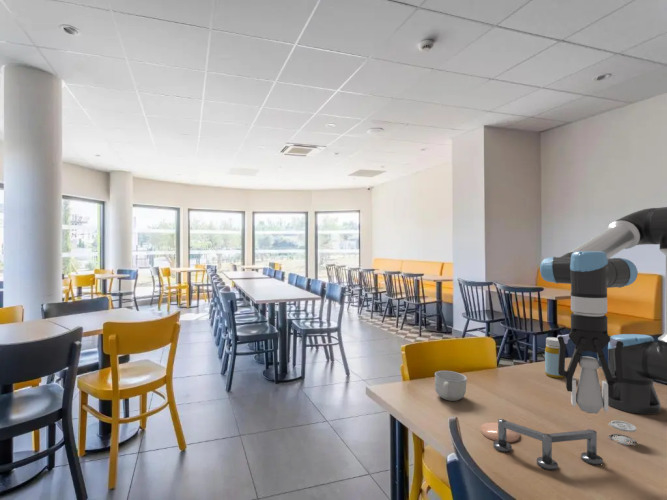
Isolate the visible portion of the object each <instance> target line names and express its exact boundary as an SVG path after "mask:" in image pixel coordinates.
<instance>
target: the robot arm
mask: <svg viewBox="0 0 667 500" xmlns="http://www.w3.org/2000/svg"><path fill="white" fill-rule="evenodd" d="M641 245H644V246H645V245H659V251H660V252H661V253H662V254H663V255H665V285H664V286H665V287H664V288H665V289H664V333H663V334H662V335H660V336H659V337H658V338H657V342H656V341H655V339H654V337H653V336H652V335H648V334H640V333H639V334H638V333H622V334H621V333H619V334H614V335H611V336H610V335H609V333H608V316H607V315H606V314H607V313H608V289H610V288H618V289H619V288H624V287H627V286H630V285H632V284H633V283H635V281H636V280H637V279H638V278H637V277H638V274H639V273H638V272H639V271H638V268H637V266H636V265H635V264H634V263H633V262H632V261H631V260H630V259H626V258H622V257H613V256H615V255H616V254H618V253H620V252H622V250H627V249H632V248H633V247H636V246H641ZM539 272H540V277H541V278H542V280H544V281H546V282H549V283H554V284H566V285H570V310H571V312H572V313H571V314H570V330H569V332H568V334H557V335H556V338H558V341H559V358H558V373H559V375H561V376H564V377H563V378H565V387H566V391H567V392H569V393H571V394H570V401H571V402H570V403H571V406H572V407H577V402H576V393H577V380H576V377H575V376H574V375H575V372H576V369H577V367H578V365H579V359H580V357H582V356H581V355H582V354H583V352H591V353H596V357H597V358H598V359H597V360H598V361H599V365H600V366H601V369H602V372H603V375H604V377H605V380H602V381H601V384H602V385H601V393H602V398H603V406H602V408H603V411H604V412H606V413H607V412H609V406H610V407H612V408H615V409H618V410H621V411H624V412H627V413H632V414H633V413H634V414H640V415H656V414H659V413H661V410H662V407H661V406H662V405H661V401H660V398H659V396H658V394H657V391H656V389H655V386H654V381H658V382H662V383H666V384H667V206H665V207H664V206H662V207H650V208H649V207H648V208H644V209H641V210H637V211H634V212H632V213H630V214H627V215H624V216H621V217H620V218H619V219H616V220H615V221H613V222H611V223H610V224H609V225H607V228H606V230H604V231H603V232H601V233H599V234H597V235H595V236H594V237H592V238H591V239H589V240H587V241H585V242H584V243H582V244H580V245H579V246H577V247H575V248H573V249H572V250H570V251H568V252H567V253H565V254H563V255H561V256H558V257H557V256H552V257H548V256H547V257H545V258H544V259H542V261H541V263H540V266H539ZM569 340H571V342H573V345H574V346H575V347H574V350H573V353H572V355H571V359H570V361H569V364H568V366H567V370H566V369H565V370H564V367H565V368H566V351H567V350H566V348H567V346H566V345H567V344H569V343H568V342H569ZM607 345H608V346H607ZM605 346H607V350H608V352H607V353H608V356H607V357H608V358H607V359H608V360H607V359H606V357H605V352H604V351H603V349H604V348H605Z"/></svg>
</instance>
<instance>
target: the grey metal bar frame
mask: <svg viewBox="0 0 667 500" xmlns="http://www.w3.org/2000/svg"><path fill="white" fill-rule="evenodd" d="M497 423H498V441H493V443H492V445H493V449H494V450H496V451H498V452H500V453H510V452H512V451H513V448H512V447H513V445H511V443H507V429H509V430H512V431H515V432H517V433H519V435H524V436H527V437H529V438H532V439H535V440H538V441H541V442H542V443H541V447H542V448H541V452H542V456H539V457H537V458H536V465H537V466H538V467H540V468H541V469H543V470H546V471H552V472H553V471H557V470H558V467H559V466H558V462H557V461H555V459H553V450H552V449H553V447H552V446H553V443H562V442H569V441H570V442H571V441H578V440H579V441H581V440H586V452H581V453H580V454H581V455H580V459H581V460H582V461H583V462H584V463H586V464H589V465H590V466H591V465H592V466H596V465H599V466H602V465H603V463H604V461H603V458H602V457H601V456H600V455H598V452H597V451H598V446H597V445H598V444H597V440H598V439H597V438H598V437H597V434H598V433H597V431H596V430H595V429H589V428H587V429H586V430H584V429H583V430H576V431H574V430H573V431H564V432H562V431H561V432H553V433H544V432H541V431H538V430H536V429H532V428H529V427H526V426H523V425H520V424H517V423H514V422H511V421H508V420H506V419H504V418H498V420H497ZM601 464H602V465H601Z"/></svg>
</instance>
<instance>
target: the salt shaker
mask: <svg viewBox="0 0 667 500" xmlns="http://www.w3.org/2000/svg"><path fill="white" fill-rule="evenodd" d="M578 366H579V367H581V369H580V371H579V372H580V374H579V379H578V384H577V387H576V405H577V406H578V408H579V410H580V411H582V412H585V413H587V414H596V415H597V414H598V413H600V411H601V409H602V408H603V407H602V406H603V398H602V387H601V384H600V380H599V379H600V378H599V374H598V369H600V361H599V359H597V358H595V357H593V356H588V355H587V356H580V359H579V362H578Z"/></svg>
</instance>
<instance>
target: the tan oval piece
mask: <svg viewBox="0 0 667 500" xmlns="http://www.w3.org/2000/svg"><path fill="white" fill-rule="evenodd" d="M480 433H481V434H482V435H483V436H484V437H486V438H487V439H489V440H491V441H493V442H495V441H498V422H485V423H483V424H481V425H480ZM519 440H520V433H517V432H515V431H512V430H509V429H507V443H509V444H511V443H515V442H517V441H519Z"/></svg>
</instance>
